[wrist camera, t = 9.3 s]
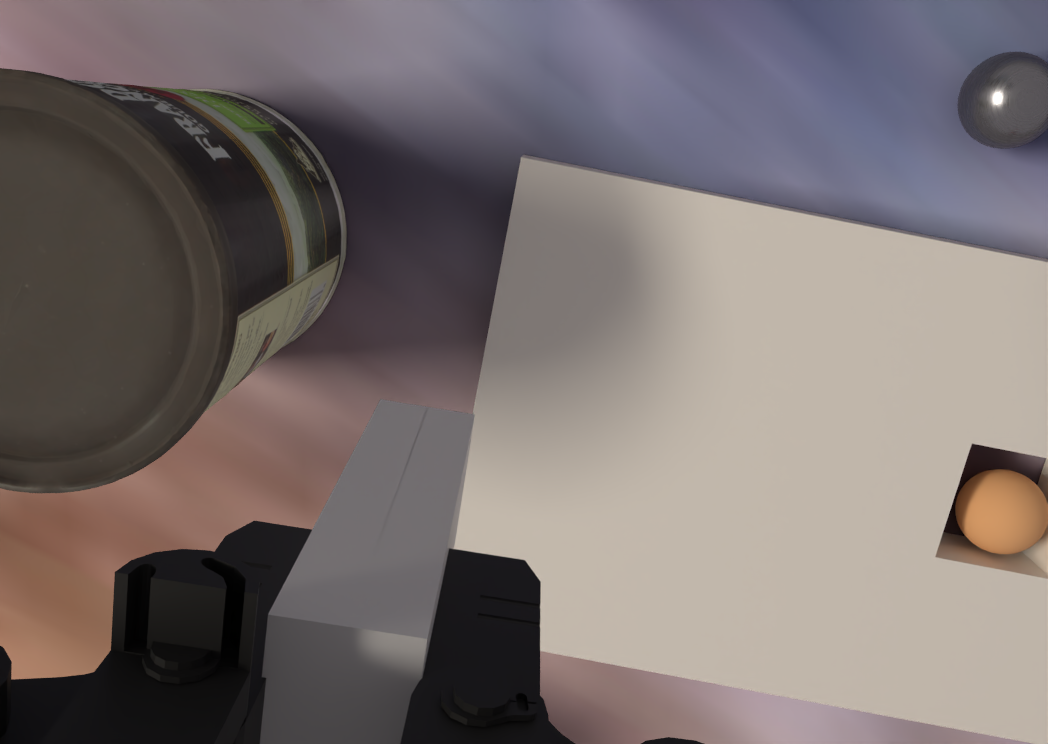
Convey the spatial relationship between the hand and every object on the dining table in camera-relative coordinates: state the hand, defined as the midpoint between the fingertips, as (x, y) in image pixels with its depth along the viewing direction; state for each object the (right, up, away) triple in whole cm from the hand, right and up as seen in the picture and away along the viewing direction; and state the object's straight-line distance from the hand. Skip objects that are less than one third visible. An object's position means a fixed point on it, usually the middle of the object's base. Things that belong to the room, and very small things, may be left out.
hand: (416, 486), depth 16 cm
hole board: (+14, -1, +23) cm, 27 cm away
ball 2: (+20, -3, +22) cm, 30 cm away
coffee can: (-10, +7, +22) cm, 25 cm away
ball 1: (+18, +11, +18) cm, 28 cm away
